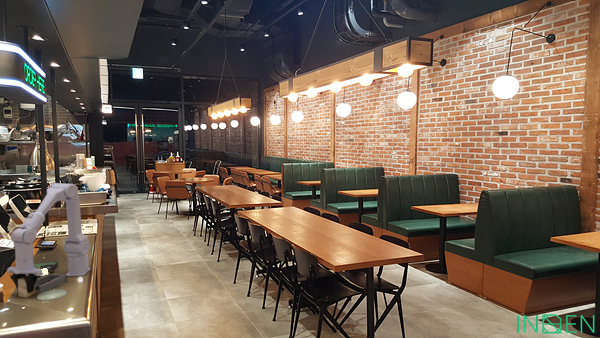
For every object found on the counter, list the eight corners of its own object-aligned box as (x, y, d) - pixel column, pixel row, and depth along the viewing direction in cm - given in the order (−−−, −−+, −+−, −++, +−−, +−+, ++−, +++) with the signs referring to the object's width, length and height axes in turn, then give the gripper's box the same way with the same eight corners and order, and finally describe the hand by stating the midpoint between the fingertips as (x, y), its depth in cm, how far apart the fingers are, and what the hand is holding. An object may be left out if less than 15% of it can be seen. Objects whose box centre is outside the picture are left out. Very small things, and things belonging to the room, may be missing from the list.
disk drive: (49, 277, 178) (58, 266, 192) (48, 271, 178) (57, 261, 192) (22, 279, 175) (33, 268, 189) (22, 273, 175) (33, 263, 189)
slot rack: (50, 279, 173) (50, 273, 173) (67, 281, 172) (66, 274, 171) (23, 291, 160) (23, 284, 160) (41, 293, 158) (40, 286, 158)
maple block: (27, 292, 159) (26, 275, 158) (35, 293, 158) (35, 276, 158) (18, 296, 155) (17, 279, 155) (26, 297, 154) (26, 280, 154)
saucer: (44, 291, 160) (44, 290, 160) (70, 290, 162) (70, 288, 162) (32, 301, 150) (31, 299, 150) (60, 300, 152) (59, 298, 152)
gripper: (-1, 259, 152) (1, 293, 153) (31, 262, 150) (32, 297, 151) (16, 254, 159) (17, 287, 160) (46, 257, 157) (47, 290, 158)
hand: (25, 291), depth 156 cm, fingers closed on maple block, 4 cm apart
